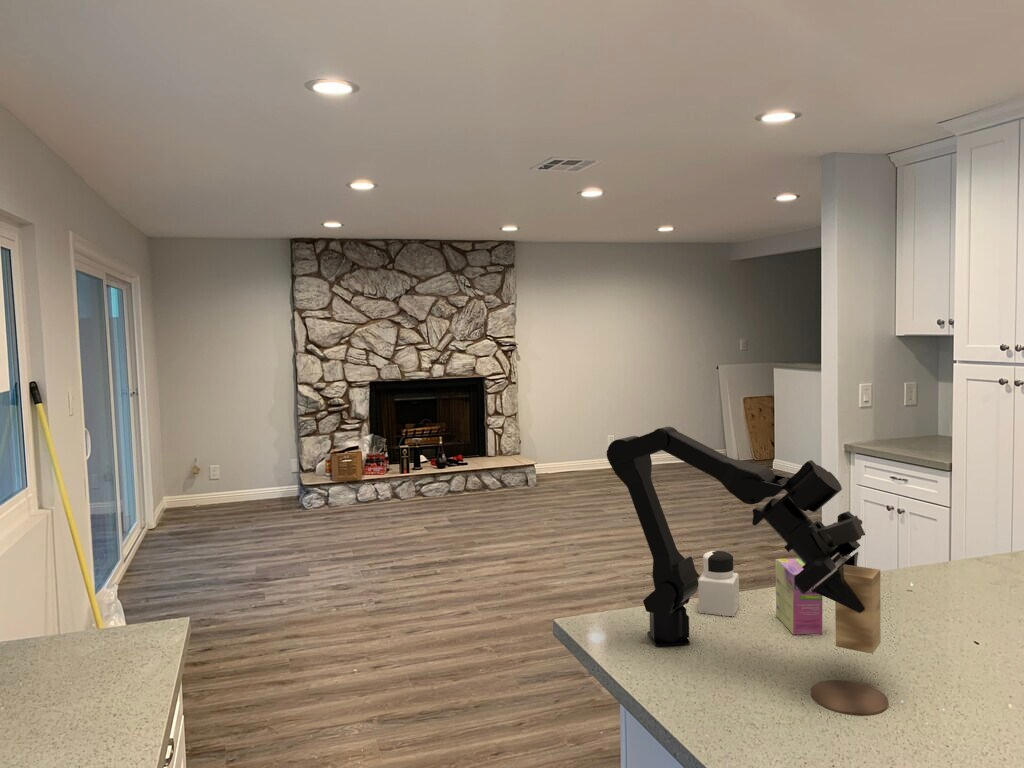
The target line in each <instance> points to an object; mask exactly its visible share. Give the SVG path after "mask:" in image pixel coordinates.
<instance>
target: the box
mask: <svg viewBox="0 0 1024 768" xmlns="http://www.w3.org/2000/svg"><path fill="white" fill-rule="evenodd" d="M804 565H805V563H804V562H803V561H802V560H801V559H800V558H799V557H798V558H796V557H795V558H776V559H775V616H776V617H777V618H778V619H779V620H780V621H781V623H782V624H783V625H784V626H785V627H786V628H787V629H788V630H789V631H790V633H792V635H793V634H794V635H793V636H799V635H798V634H802V635H801V636H807V635H806V634H820V635H823V596H822V595H820V594H818V593H813V592H811V590H812V589H814V588H815V587H816V586H817V585H816V584H815V585H814V586H813V587H812V588H810V589H809V590H808V591H807V592H805V593H804V594H802V593H801V592H800V590H799V589H798V588H797V587H796V586H795V585H794V577H795V576H796V575H797V574H798V573H800V572H801V571H802V570H803V568H802V567H803V566H804ZM795 634H797V635H795ZM803 634H805V635H803Z"/></svg>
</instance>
